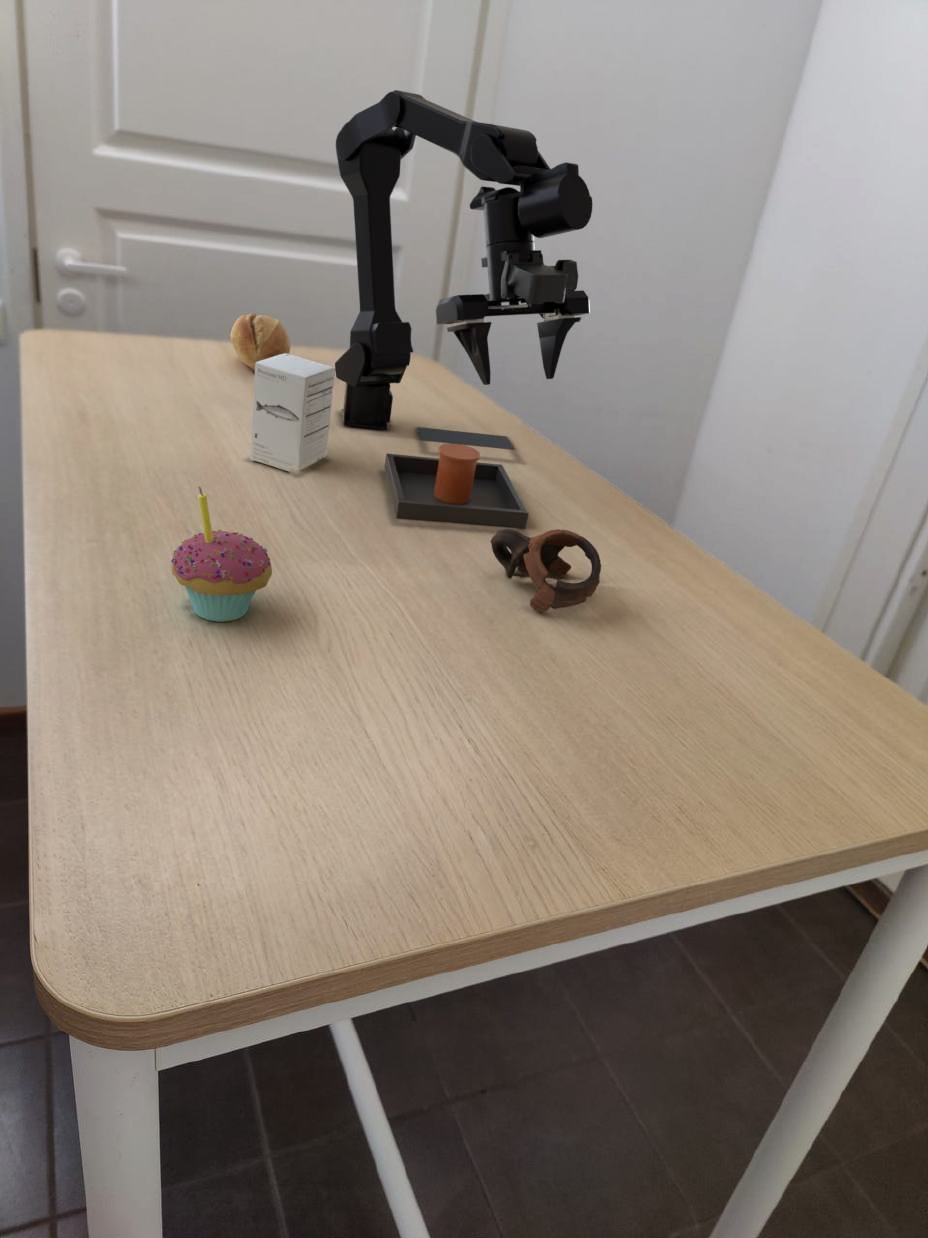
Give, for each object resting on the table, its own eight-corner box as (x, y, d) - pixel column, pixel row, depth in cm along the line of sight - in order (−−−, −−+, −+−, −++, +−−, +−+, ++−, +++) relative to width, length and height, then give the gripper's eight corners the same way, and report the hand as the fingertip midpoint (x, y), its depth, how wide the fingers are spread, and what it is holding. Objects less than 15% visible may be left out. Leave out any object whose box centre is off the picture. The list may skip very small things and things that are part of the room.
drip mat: (425, 453, 124) (426, 450, 124) (417, 429, 133) (417, 426, 132) (520, 462, 127) (521, 459, 127) (506, 438, 136) (506, 436, 136)
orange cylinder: (434, 503, 107) (441, 456, 104) (428, 486, 111) (435, 441, 108) (475, 507, 108) (484, 461, 105) (468, 490, 113) (476, 445, 110)
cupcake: (182, 637, 75) (183, 508, 69) (162, 589, 81) (161, 467, 75) (280, 626, 79) (289, 504, 73) (254, 581, 85) (260, 465, 79)
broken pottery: (588, 584, 98) (619, 543, 91) (563, 650, 93) (593, 613, 86) (492, 534, 97) (516, 491, 90) (461, 598, 92) (483, 557, 85)
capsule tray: (395, 524, 102) (398, 502, 101) (383, 473, 115) (386, 453, 114) (524, 534, 105) (528, 513, 104) (498, 483, 119) (502, 464, 117)
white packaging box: (247, 460, 111) (252, 360, 105) (279, 446, 117) (285, 351, 111) (298, 477, 109) (306, 376, 103) (328, 461, 115) (337, 365, 109)
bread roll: (235, 376, 141) (236, 325, 137) (225, 350, 152) (226, 302, 148) (295, 380, 144) (298, 330, 140) (281, 354, 156) (283, 308, 152)
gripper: (476, 232, 93) (487, 385, 97) (616, 232, 101) (620, 373, 105) (428, 250, 102) (440, 388, 106) (559, 248, 111) (566, 377, 115)
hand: (519, 381), depth 108 cm, fingers open, 9 cm apart
